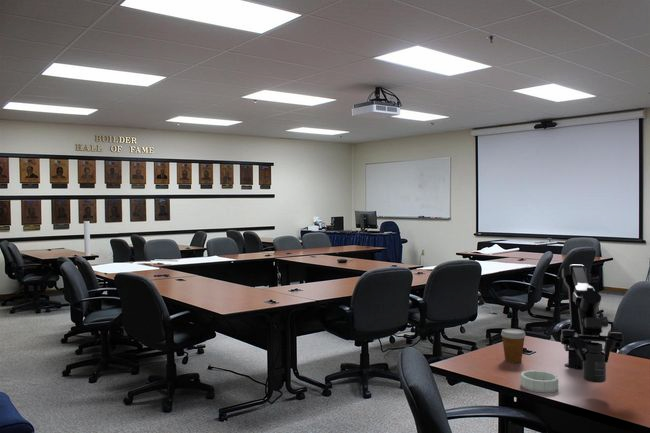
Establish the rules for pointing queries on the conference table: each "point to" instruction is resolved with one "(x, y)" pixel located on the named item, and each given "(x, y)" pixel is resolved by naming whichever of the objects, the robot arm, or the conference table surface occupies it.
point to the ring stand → (539, 381)
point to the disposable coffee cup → (513, 344)
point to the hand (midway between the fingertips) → (595, 361)
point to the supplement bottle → (594, 363)
